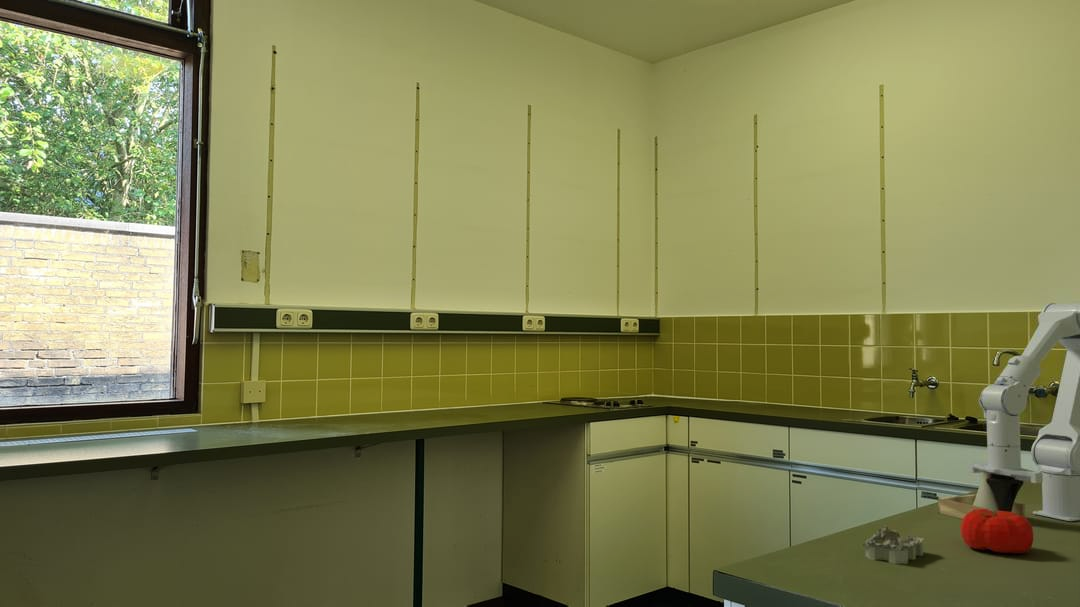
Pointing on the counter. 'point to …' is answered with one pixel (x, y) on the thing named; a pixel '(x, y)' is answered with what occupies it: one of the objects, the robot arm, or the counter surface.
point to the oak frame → (968, 506)
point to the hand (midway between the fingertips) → (1005, 514)
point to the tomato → (997, 531)
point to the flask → (985, 494)
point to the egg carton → (892, 547)
